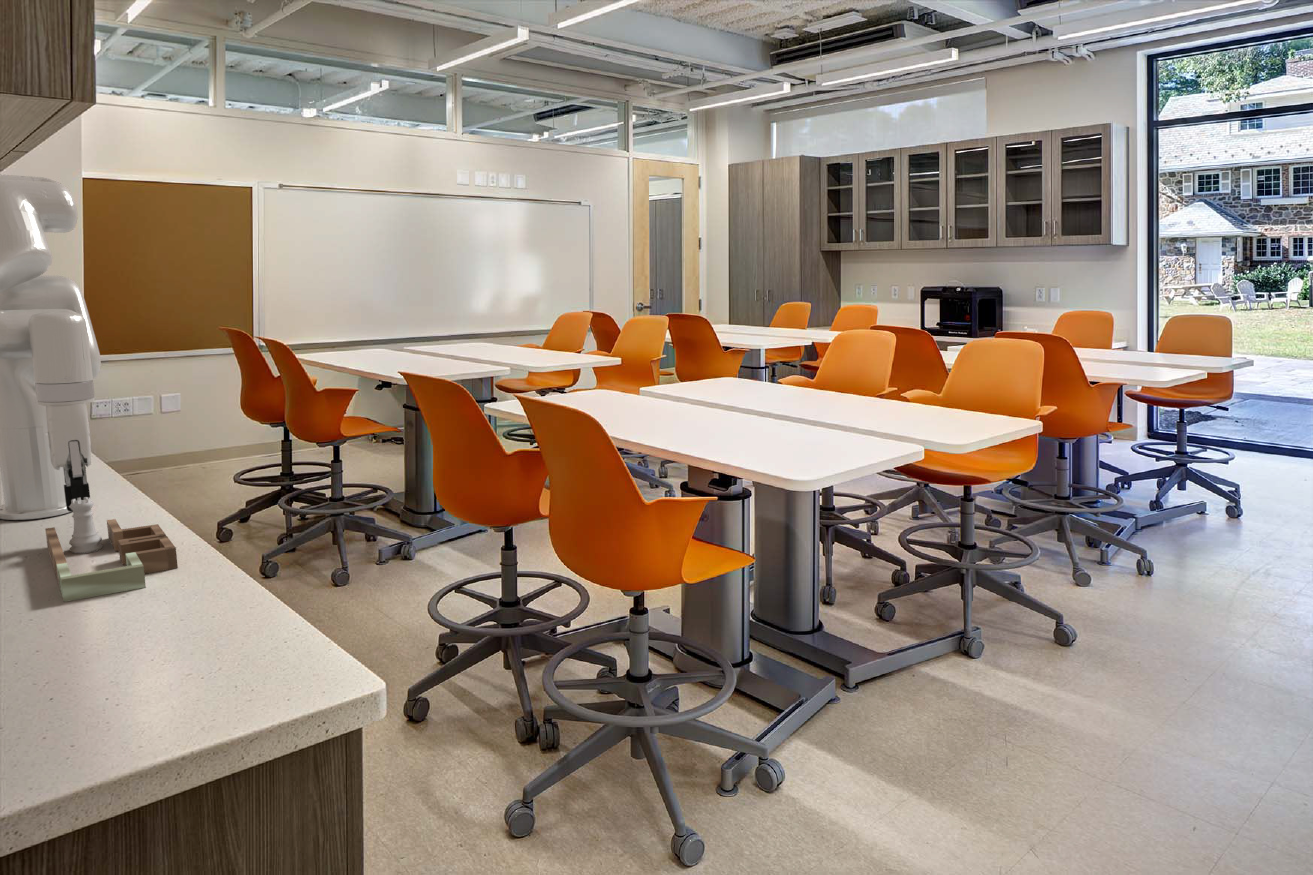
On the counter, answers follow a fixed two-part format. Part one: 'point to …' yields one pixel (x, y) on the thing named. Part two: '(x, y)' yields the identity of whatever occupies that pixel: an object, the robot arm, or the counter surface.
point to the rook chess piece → (84, 528)
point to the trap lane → (136, 549)
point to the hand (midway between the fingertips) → (79, 508)
